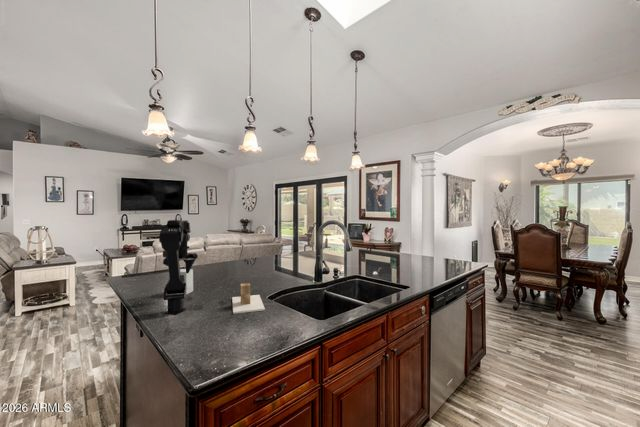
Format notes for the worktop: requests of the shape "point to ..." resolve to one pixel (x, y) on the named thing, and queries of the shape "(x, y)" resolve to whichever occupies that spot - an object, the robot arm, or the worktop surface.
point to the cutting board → (253, 306)
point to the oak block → (245, 293)
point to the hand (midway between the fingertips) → (181, 275)
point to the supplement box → (188, 279)
